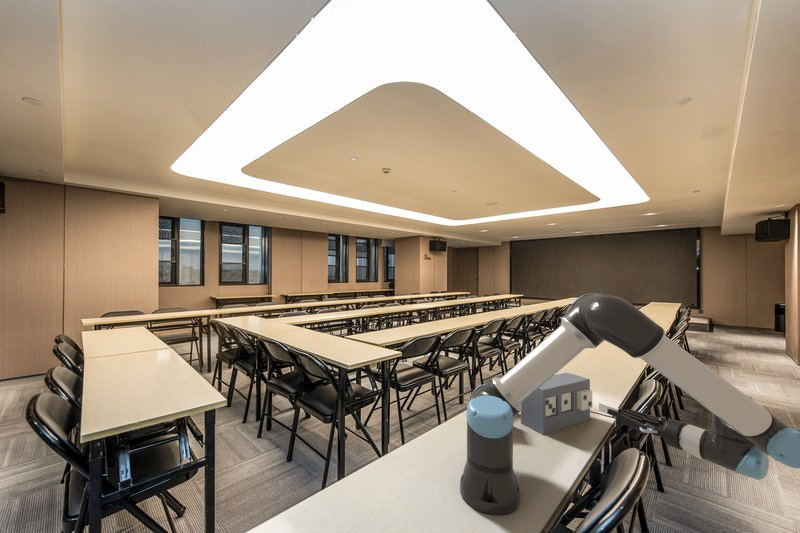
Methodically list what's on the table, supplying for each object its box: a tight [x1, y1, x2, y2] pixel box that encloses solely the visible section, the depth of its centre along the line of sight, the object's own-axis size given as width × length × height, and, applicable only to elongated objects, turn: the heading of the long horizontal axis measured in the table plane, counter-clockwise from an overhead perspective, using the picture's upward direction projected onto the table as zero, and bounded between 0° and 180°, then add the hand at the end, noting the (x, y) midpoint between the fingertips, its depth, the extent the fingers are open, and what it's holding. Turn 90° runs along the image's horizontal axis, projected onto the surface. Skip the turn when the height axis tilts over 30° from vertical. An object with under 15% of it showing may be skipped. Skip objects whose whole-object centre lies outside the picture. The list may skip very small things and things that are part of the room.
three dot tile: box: [546, 396, 556, 416], centre depth 121 cm, size 7×3×7 cm, turn 118°
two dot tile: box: [577, 389, 593, 411], centre depth 127 cm, size 7×3×7 cm, turn 118°
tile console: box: [520, 372, 591, 436], centre depth 128 cm, size 28×10×16 cm, turn 118°
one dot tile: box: [562, 392, 571, 412], centre depth 125 cm, size 7×3×7 cm, turn 118°
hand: (600, 406), depth 112 cm, fingers closed
